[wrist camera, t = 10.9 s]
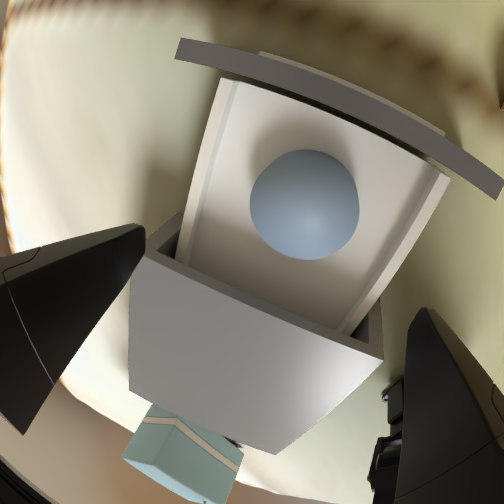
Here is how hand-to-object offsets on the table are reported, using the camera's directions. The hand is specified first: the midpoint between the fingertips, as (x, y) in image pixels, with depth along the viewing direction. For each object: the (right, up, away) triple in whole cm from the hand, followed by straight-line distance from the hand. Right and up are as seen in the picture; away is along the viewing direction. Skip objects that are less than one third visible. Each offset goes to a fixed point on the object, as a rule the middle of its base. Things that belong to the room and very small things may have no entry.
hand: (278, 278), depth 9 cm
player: (-2, -7, +21) cm, 22 cm away
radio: (-9, -28, +35) cm, 46 cm away
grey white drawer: (+2, +3, +13) cm, 13 cm away
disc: (+3, +4, +10) cm, 11 cm away
